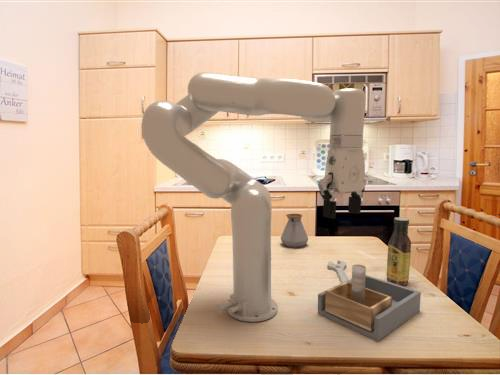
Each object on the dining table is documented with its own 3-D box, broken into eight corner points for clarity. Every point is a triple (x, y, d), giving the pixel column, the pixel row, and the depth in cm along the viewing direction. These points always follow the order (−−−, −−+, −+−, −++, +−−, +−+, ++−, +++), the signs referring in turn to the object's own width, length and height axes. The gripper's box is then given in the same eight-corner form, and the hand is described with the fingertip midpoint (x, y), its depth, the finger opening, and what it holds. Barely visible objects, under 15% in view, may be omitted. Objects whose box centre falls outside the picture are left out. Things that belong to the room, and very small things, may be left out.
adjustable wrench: (356, 297, 93) (356, 291, 93) (332, 295, 94) (332, 289, 94) (345, 265, 117) (345, 260, 117) (326, 264, 118) (326, 259, 118)
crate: (370, 331, 72) (372, 279, 71) (325, 310, 81) (326, 264, 80) (391, 317, 78) (393, 269, 77) (346, 299, 87) (347, 256, 86)
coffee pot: (282, 240, 147) (282, 207, 146) (308, 241, 145) (309, 207, 143) (276, 256, 127) (276, 217, 125) (306, 257, 124) (307, 218, 123)
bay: (378, 341, 71) (379, 319, 70) (317, 313, 83) (318, 294, 82) (419, 311, 84) (420, 291, 83) (362, 290, 96) (362, 273, 95)
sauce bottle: (382, 278, 104) (385, 216, 102) (401, 278, 104) (404, 215, 102) (392, 287, 98) (395, 220, 95) (413, 286, 98) (416, 220, 96)
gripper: (335, 143, 70) (331, 222, 72) (380, 144, 81) (376, 214, 83) (308, 142, 76) (305, 216, 78) (354, 144, 87) (350, 209, 89)
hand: (342, 215), depth 81 cm, fingers open, 9 cm apart
